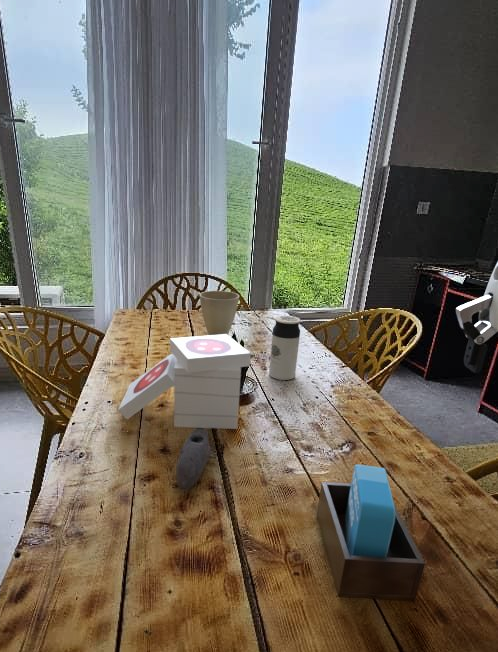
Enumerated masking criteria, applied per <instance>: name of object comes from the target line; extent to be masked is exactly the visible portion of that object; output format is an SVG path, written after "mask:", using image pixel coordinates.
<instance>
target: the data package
mask: <svg viewBox="0 0 498 652" xmlns="http://www.w3.org/2000/svg"><path fill="white" fill-rule="evenodd" d="M350 483H351V487H350V493H349V498H348V504H347V509H346V515H345V532H346V545H347V548H348V551H349V555H353V556H371V557H387V553H388V548H389V544H390V540H391V536H392V531H393V527H394V523H395V506H396V505H395V506H394V504H395V502H394V498H393V494H392V489H391V485H390V482H389V477H388V473H387V469H386V468H385V467H379V466H371V465H366V464H365V465H364V464H360V463H359V464H355V465H354V467H353V472H352V477H351V482H350Z"/></svg>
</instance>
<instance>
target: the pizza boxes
mask: <svg viewBox="0 0 498 652" xmlns="http://www.w3.org/2000/svg"><path fill="white" fill-rule="evenodd" d="M169 351H170V352H171V353H170V354H168V355H167V356H166V357H164V358H163V359H162V360H160V361H159V362H158V363H157V364H155V365H153V366H152V367H151V368H150V369H148V370H147V371H145V372H144V373H143V374H142V375H140V376H139V377H138V378H136V379H135V380H134V381H132V382H131V383H130V384H129V385H128V387H127V390H126V392H125V394H124V396H123V398H122V400H121V402H120V405H119V406H118V409H117V411H118V412H119V413H120V414H121V415H122V416H123V417H124V419H126V420H129V419H130V418H131V417H133V416H134V415H136V414H137V413H138V412H139V411H141V410H142V409H144V408H145V407H147V406H148V405H149V404H150V403H152V402H153V401H155V400H156V399H157V398H159V397H160V396H162V395H163V394H165V393H166V392H167V391H168V390H170V389H172V388H173V387H174V389H173V391H174V392H173V395H174V396H173V398H174V400H173V402H174V404H173V405H174V407H173V410H174V411H173V412H174V413H173V421H174V422H173V426H174V428H194V429H196V428H199V429H227V430H238V425H239V424H238V423H239V409H240V408H239V407H240V394H241V376H242V368H244V367H245V368H246V367H250V366H251V354H252V353H251V351H249V350H247V348H245V347H244V346H242V345H241V343H239V342H238V341H236V340H235V339H234V338H233V337H231V335H229V334H228V335H227V334H219V335H208V334H207V335H194V336H181V337H170V338H169Z"/></svg>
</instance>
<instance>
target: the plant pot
mask: <svg viewBox="0 0 498 652" xmlns="http://www.w3.org/2000/svg"><path fill="white" fill-rule="evenodd" d="M239 301H240V294H238V293H236V292H234V291H228V290H205V291H203V292H200V293H199V303H200V309H201V314H202V315H201V316H202V318H203V322H204V327H205V330H206V332H207V335H219V334H227V335H229V334H230V331H231V328H232V327H233V323H234V320H235V317H236V314H237V309H238V304H239Z"/></svg>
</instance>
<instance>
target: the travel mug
mask: <svg viewBox="0 0 498 652" xmlns="http://www.w3.org/2000/svg"><path fill="white" fill-rule="evenodd" d="M274 320H275V325H274V326H273V328H272V336H271V347H270V356H269V370H268V375H269V376H270V377H271V378H273V379H275V380H280V381H287V380H288V381H289V380H292V379H294V378H296V371H297V363H298V362H297V361H298V355H299V345H300V336H301V329H300V326H299V325H300V323H301V318H299V317H298V316H293V315H278V316H275V317H274Z"/></svg>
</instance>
